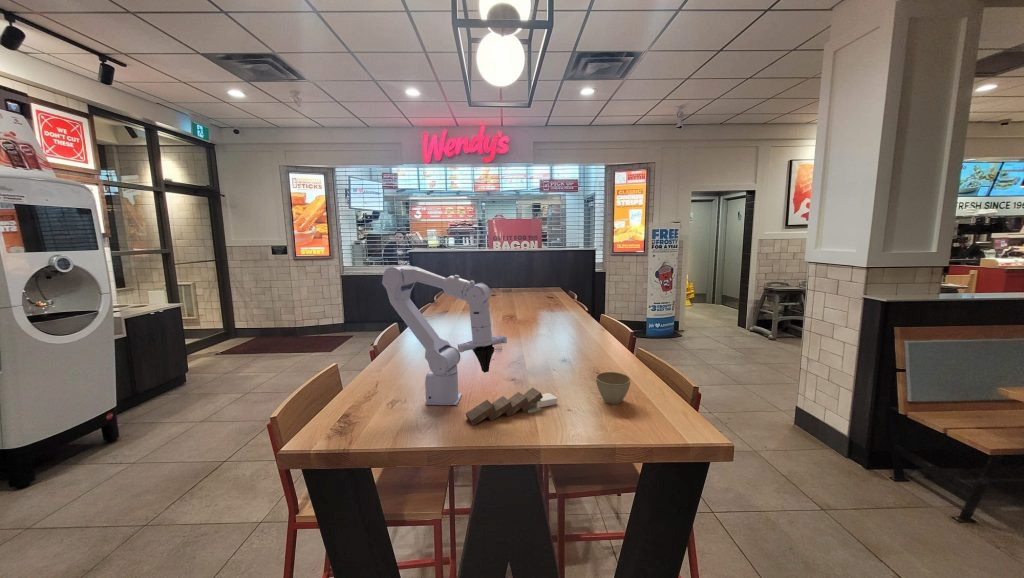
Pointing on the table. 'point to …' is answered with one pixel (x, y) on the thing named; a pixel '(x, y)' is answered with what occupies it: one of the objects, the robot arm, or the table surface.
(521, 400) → the domino
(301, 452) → the table surface
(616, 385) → the flower pot
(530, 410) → the pad
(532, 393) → the domino
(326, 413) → the table surface
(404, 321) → the robot arm
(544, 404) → the domino
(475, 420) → the domino
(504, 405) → the domino
